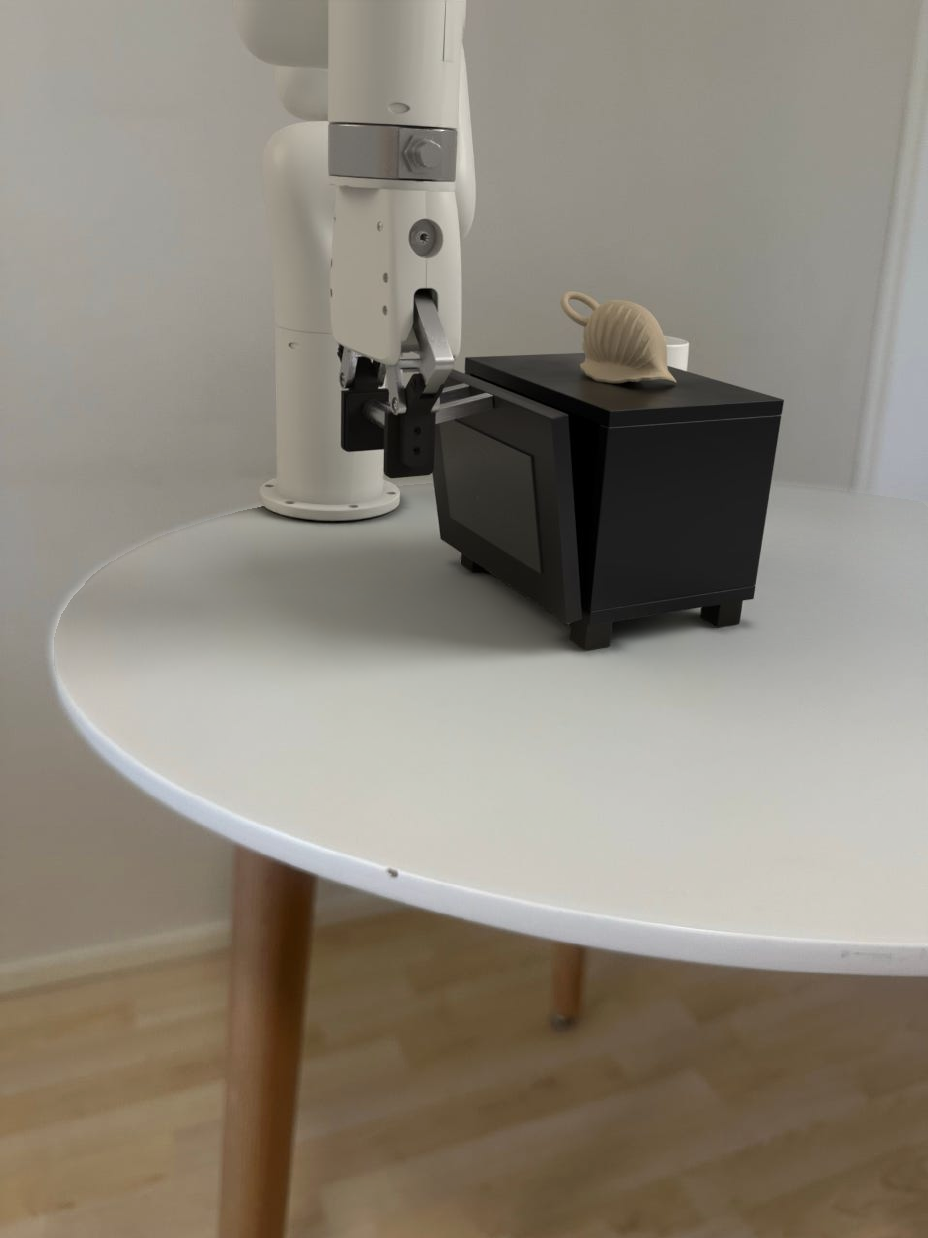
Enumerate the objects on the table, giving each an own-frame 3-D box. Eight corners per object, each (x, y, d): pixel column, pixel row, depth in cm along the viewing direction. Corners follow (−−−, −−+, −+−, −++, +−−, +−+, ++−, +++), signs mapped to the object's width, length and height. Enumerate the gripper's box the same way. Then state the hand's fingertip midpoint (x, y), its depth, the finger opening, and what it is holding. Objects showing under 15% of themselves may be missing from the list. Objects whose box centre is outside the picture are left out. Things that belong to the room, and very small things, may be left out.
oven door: (468, 659, 71) (442, 444, 65) (354, 564, 86) (324, 383, 80) (582, 619, 74) (568, 410, 68) (454, 535, 89) (432, 357, 83)
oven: (586, 654, 75) (610, 410, 69) (455, 562, 91) (464, 357, 85) (749, 625, 81) (784, 399, 75) (600, 544, 97) (619, 351, 91)
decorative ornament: (641, 390, 76) (650, 307, 74) (547, 370, 81) (553, 291, 79) (678, 384, 78) (687, 303, 76) (584, 365, 84) (591, 289, 82)
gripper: (522, 169, 62) (502, 492, 69) (389, 160, 76) (384, 429, 83) (395, 163, 59) (387, 504, 65) (281, 154, 73) (284, 436, 79)
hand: (385, 459), depth 74 cm, fingers closed on oven door, 6 cm apart
